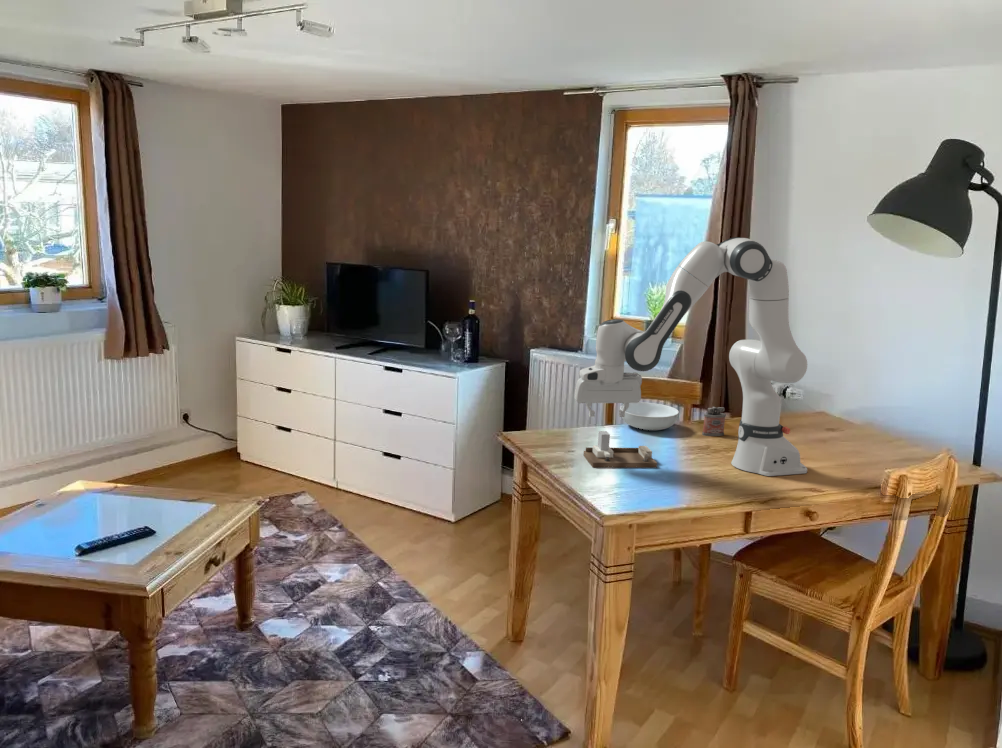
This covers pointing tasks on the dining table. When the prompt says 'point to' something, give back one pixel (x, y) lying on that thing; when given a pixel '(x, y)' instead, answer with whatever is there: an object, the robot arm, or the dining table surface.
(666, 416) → the serving bowl
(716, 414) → the lighter
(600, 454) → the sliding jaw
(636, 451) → the brown board with blocks
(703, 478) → the dining table surface
